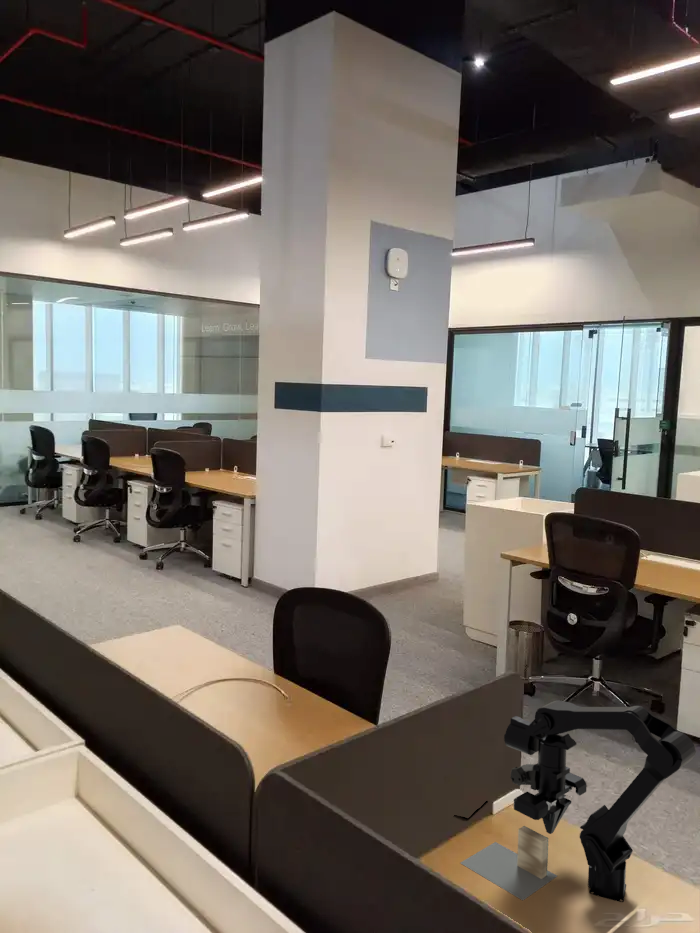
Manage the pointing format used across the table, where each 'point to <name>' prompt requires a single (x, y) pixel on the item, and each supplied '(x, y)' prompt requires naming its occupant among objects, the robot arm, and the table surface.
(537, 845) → the tile
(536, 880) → the mat
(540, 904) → the table surface
